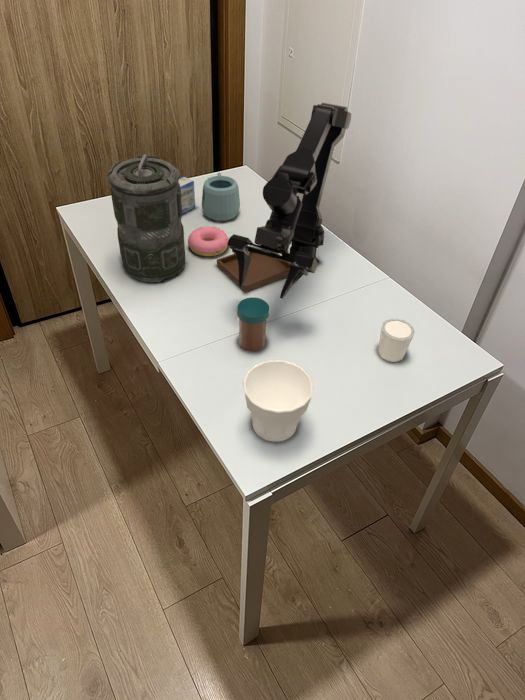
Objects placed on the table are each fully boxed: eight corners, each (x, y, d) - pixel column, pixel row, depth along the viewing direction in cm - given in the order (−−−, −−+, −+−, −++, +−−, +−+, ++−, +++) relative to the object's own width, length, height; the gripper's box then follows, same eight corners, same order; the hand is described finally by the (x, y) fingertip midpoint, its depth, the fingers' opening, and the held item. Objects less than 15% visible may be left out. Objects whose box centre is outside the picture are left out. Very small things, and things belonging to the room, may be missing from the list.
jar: (255, 330, 120) (257, 296, 113) (270, 345, 117) (272, 311, 110) (233, 339, 117) (234, 305, 111) (248, 355, 114) (249, 321, 107)
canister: (128, 247, 141) (112, 143, 122) (188, 249, 142) (182, 145, 123) (117, 283, 130) (98, 174, 111) (182, 285, 131) (174, 177, 111)
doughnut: (219, 233, 148) (219, 219, 145) (235, 254, 141) (235, 240, 138) (182, 241, 145) (181, 227, 142) (196, 262, 138) (196, 249, 135)
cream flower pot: (243, 397, 106) (244, 357, 98) (306, 400, 106) (312, 361, 98) (239, 449, 97) (240, 410, 89) (308, 452, 97) (315, 414, 89)
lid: (231, 318, 110) (231, 311, 109) (245, 300, 115) (245, 293, 113) (260, 328, 108) (261, 321, 107) (274, 309, 113) (274, 303, 112)
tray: (265, 249, 144) (265, 242, 142) (294, 273, 136) (295, 267, 135) (216, 266, 137) (216, 259, 136) (245, 293, 130) (245, 286, 128)
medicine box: (176, 218, 153) (174, 190, 147) (165, 212, 155) (163, 184, 149) (195, 208, 158) (194, 180, 152) (185, 202, 160) (183, 175, 154)
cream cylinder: (400, 368, 113) (407, 344, 108) (370, 355, 116) (376, 331, 111) (411, 349, 118) (419, 326, 113) (382, 337, 120) (389, 314, 115)
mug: (201, 198, 162) (200, 166, 155) (237, 197, 163) (237, 166, 156) (202, 224, 151) (201, 191, 144) (241, 223, 153) (241, 191, 146)
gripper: (231, 198, 106) (207, 273, 106) (320, 220, 102) (295, 298, 102) (245, 216, 117) (224, 284, 117) (326, 236, 112) (304, 307, 113)
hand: (260, 292), depth 112 cm, fingers open, 9 cm apart
